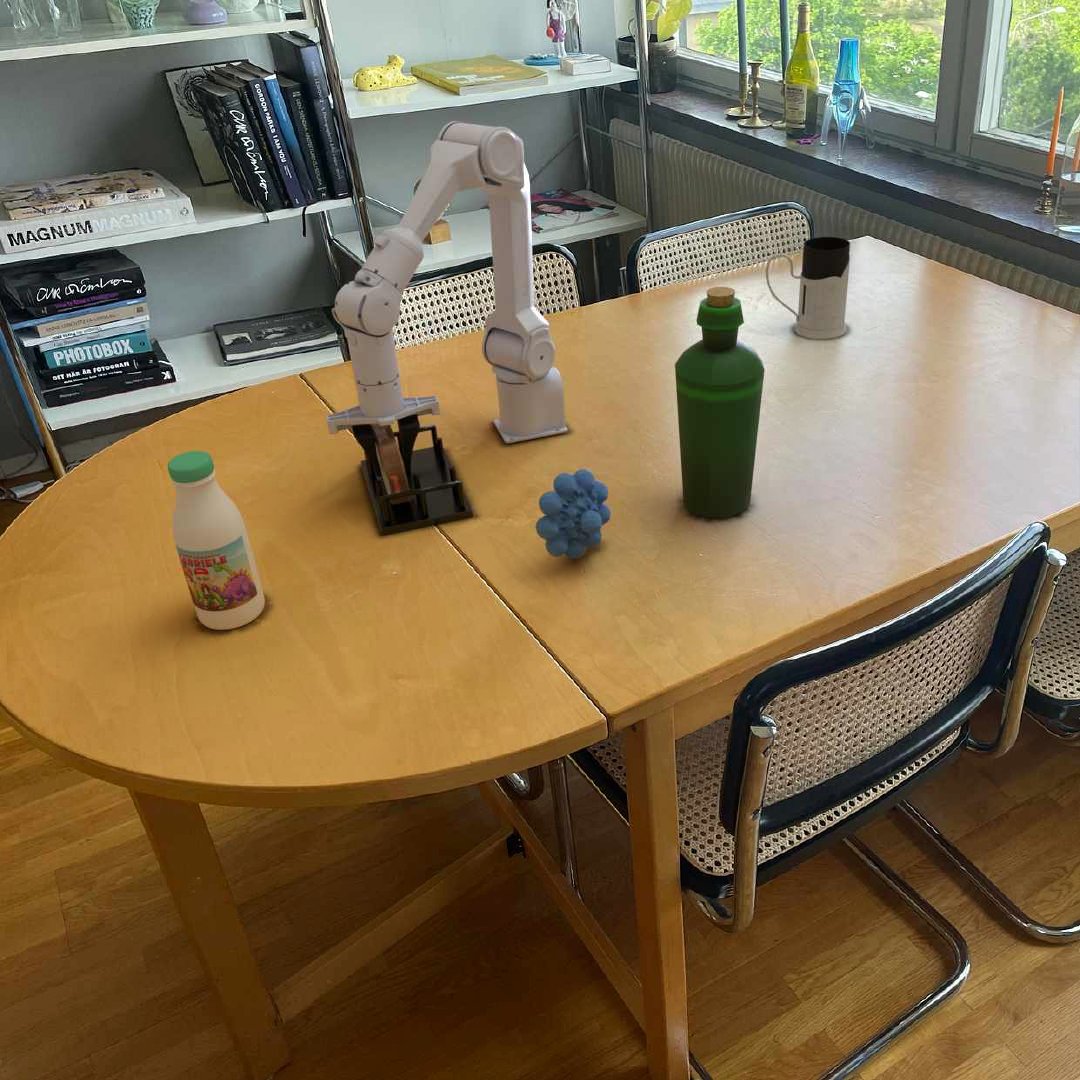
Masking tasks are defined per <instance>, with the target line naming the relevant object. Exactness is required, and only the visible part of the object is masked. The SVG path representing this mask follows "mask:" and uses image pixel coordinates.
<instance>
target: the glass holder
mask: <svg viewBox="0 0 1080 1080" xmlns="http://www.w3.org/2000/svg"><path fill="white" fill-rule="evenodd" d="M802 247H803V248H802V261H801V263H802V264H801V272H800V275H794V263H793V260H792V259H791V257H790V256H789V255H788V254H785V253H776V254H774V255H772V256H770V258H769V259H768V261H767V263H766V267H765V279H766V284H767V287H768V289H769V292H770V293H771V296H772V297H773V298H774V299H775V300H776V301H777V302H778V303H779V304H780V305H782V306H783V307H784V308H786V309H787V311H789V312H791V313H792V314H793V315H794V316H795V322H796V324H795V327H794V332H795V333H796V335H798V336H800V337H804V338H806V339H807V338H808V339H813V340H814V339H815V340H827V339H829V340H830V339H836V338H838V337H841V336H843V335H844V334H846V333H847V326H846V323H845V320H846V311H847V310H846V308H847V298H848V297H847V296H848V287H849V286H848V285H849V275H850V263H851V255H850V249H851V242H850V241H849V240H848V239H846V238H842V237H838V236H837V237H836V236H819V237H813V238H810V239H807V240H805V241H803V245H802ZM779 257H784V258H786V259H787V260H788V262H789V267H790V275H791V277H792V278H793V279H796V280H799V294H798V297H799V298H798V310H797V312H796V311H795V310H794V309H792V308H791V307H790V306H789V305H787V304H786V303H784V302H783V301H782V300H781V299H780V298H779V297H778V296H777V295H776V293H775V292H774V291H773V288H772V286H771V282H770V279H769V277H770V276H769V269H770V268H769V267H770V264H771V262H772V261H773V260H775V259H776V258H779Z"/></svg>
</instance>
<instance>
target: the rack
mask: <svg viewBox="0 0 1080 1080" xmlns="http://www.w3.org/2000/svg"><path fill="white" fill-rule="evenodd" d="M429 431H430V434H431V440H432V446H430V447H425V448H419V449H413V452H412V458H411V470H410V471H406V470H405V473H406V477H407V482H408V487H409V491H404V492H399V493H394V494H389V495H388V494H387V491H386V488H385V485H384V482H383V478H382V476H380V477H377V476H376V473H375V469H374V467H373V465H372V462H371V461H370V459H369V457H368V455H367V454H366V452H365V451H364V450H363V453H364V459H362V460H360V466H361V467H360V468H361V470H362V473H363V477H364V480H365V483H366V487H367V489H368V493H369V496H370V497H369V498H370V500H371V504H372V506H373V510H374V514H375V517H376V521H377V524H378V527H379V530H380V531H379V532H380V535H381V536H387V535H391V534H395V533H400V532H406V531H410V530H416V529H420V528H425V527H430V526H435V525H440V524H444V523H449V522H454V521H458V520H463V519H468V518H473V517H474V512H473V508H472V506H471V504H470V502H469V500H468V497H467V495H466V493H465V491H464V486H463V481H462V480H459V477H458V475H457V470H456V466H454V465H452V463H451V461H450V459H449V457H448V454H447V452H446V450H445V447H444V445H443V438H442V437H438V430H437V426H436V424H430V425H424V426H420V430H419V433H424V432H429ZM393 433H394V436H395V438H396V441H397V444H398V447H399V451H400V454H401V457H402V448H401V439H400V433H399V430H398V431H393ZM402 461H403V459H402ZM403 465H404V464H403ZM404 469H405V467H404ZM407 496H410V498H411V501H410V502H403V503H399V504H391V502H390V500H392V499H397V498H402V497H407Z"/></svg>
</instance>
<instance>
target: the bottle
mask: <svg viewBox="0 0 1080 1080" xmlns="http://www.w3.org/2000/svg"><path fill="white" fill-rule="evenodd" d="M743 314H744V313H743V307H742V303H741V300H740V299H739V298H737V297H736V290H735V289H734V288H733V287H729V286H714V287H711V288H708V289H706V297H704V298H703V299H702V300H701V301H700V302H699V306H698V310H697V316H696V319H695V320H696V325H697V326H699V327H701V335H702V339H700V340H698V341H697V342H695V343H694V344H692V345H691V346H689V347H688V348H686V349H685V350H684V351H683V352H682V353H681V354H680V356H679V357H678V359H677V360H676V361H675V363H674V376H675V388H676V405H677V421H678V439H679V452H680V453H679V454H680V455H679V456H680V469H681V470H680V471H681V487H682V488H681V489H682V501H683V506H684V507H685V508H686V509H688V511H690V512H691V513H693V514H696V515H699V516H703V517H707V518H728V517H731V516H734V515H737V514H741V513H743V512H744V511H745V510H746V509H747V508H748V507H749V505H750V504H751V497H752V489H753V480H754V472H755V463H756V461H755V460H756V452H757V442H758V434H759V425H760V416H761V408H762V407H761V405H762V398H763V388H764V378H765V367H764V363H763V360H762V359H761V357H760V355H759V354H758V352H757V351H756V349H755V348H753V347H751V346H750V345H748V344H747V343H745V342H743V341H741V340H740V339H738V335H739V328H740V326H742V325H743V324H745V319H744V315H743Z"/></svg>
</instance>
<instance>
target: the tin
mask: <svg viewBox="0 0 1080 1080" xmlns="http://www.w3.org/2000/svg"><path fill="white" fill-rule="evenodd" d="M371 427H372V430H373V434H374V437H375V444H376V451H377V457H378V461H379V464H380V468H381V472H382V478H383V482H384V485H385V488H386V491H387V494H388V495H389V494H394V493H399V492H404V491H409V487H408V482H407V477H406V473H405V469H404V465H403V461H402V457H401V454H400V451H399V446H398V440H397V438H396V437H395V436H394V433H393V432H394V431H393V428H392V424H391V425H385V426H380V425H379V424H373V425H371ZM410 501H411V498H410V496H407V497H402V498H397V499H392V500H390V502H391V504H399V503H403V502H410Z"/></svg>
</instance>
